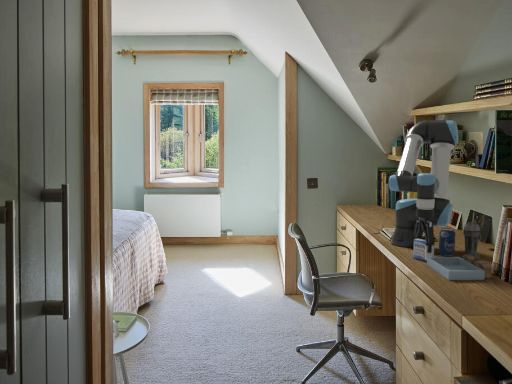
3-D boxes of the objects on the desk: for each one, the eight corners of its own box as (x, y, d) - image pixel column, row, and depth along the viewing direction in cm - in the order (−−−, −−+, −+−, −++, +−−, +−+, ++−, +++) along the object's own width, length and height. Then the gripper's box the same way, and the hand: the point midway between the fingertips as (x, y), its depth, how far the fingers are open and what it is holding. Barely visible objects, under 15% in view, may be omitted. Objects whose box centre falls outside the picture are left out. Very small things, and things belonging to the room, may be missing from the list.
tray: (426, 265, 213) (427, 257, 213) (459, 265, 214) (459, 257, 213) (448, 280, 191) (448, 271, 191) (484, 279, 192) (484, 270, 191)
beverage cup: (459, 254, 233) (461, 212, 230) (466, 252, 237) (468, 210, 235) (474, 257, 227) (476, 214, 225) (482, 255, 232) (484, 212, 229)
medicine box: (412, 258, 225) (413, 239, 224) (417, 256, 229) (418, 238, 228) (429, 261, 220) (429, 242, 219) (433, 259, 223) (434, 240, 222)
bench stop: (462, 266, 212) (463, 247, 211) (469, 266, 212) (470, 247, 211) (483, 278, 194) (484, 258, 193) (490, 278, 194) (491, 257, 193)
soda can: (446, 256, 228) (447, 231, 227) (435, 253, 234) (436, 228, 233) (457, 255, 231) (458, 229, 230) (446, 252, 237) (447, 227, 236)
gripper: (407, 204, 233) (406, 250, 236) (426, 212, 210) (424, 263, 212) (423, 204, 233) (421, 250, 236) (444, 212, 210) (442, 263, 212)
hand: (423, 256), depth 224 cm, fingers open, 11 cm apart
